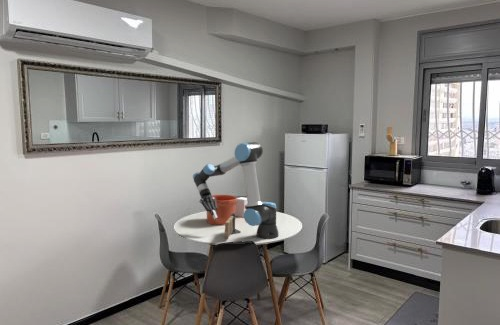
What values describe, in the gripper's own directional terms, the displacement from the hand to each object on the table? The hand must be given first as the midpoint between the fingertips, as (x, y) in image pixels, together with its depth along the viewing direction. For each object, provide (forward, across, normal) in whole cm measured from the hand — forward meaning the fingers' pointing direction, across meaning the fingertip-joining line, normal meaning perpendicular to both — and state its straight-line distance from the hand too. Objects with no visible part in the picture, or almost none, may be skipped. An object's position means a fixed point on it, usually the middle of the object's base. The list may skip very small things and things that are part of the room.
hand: (216, 218), depth 249 cm
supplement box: (-17, -46, -34) cm, 59 cm away
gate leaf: (+13, -6, -2) cm, 14 cm away
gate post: (+8, -13, -8) cm, 18 cm away
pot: (-13, -21, -29) cm, 39 cm away
